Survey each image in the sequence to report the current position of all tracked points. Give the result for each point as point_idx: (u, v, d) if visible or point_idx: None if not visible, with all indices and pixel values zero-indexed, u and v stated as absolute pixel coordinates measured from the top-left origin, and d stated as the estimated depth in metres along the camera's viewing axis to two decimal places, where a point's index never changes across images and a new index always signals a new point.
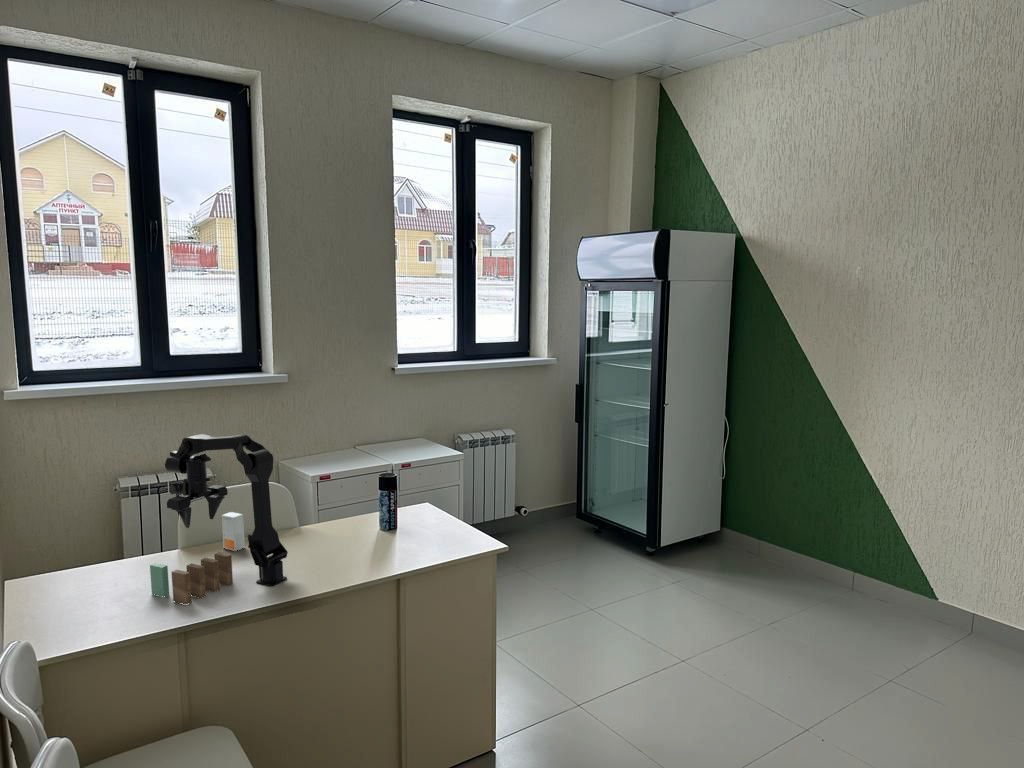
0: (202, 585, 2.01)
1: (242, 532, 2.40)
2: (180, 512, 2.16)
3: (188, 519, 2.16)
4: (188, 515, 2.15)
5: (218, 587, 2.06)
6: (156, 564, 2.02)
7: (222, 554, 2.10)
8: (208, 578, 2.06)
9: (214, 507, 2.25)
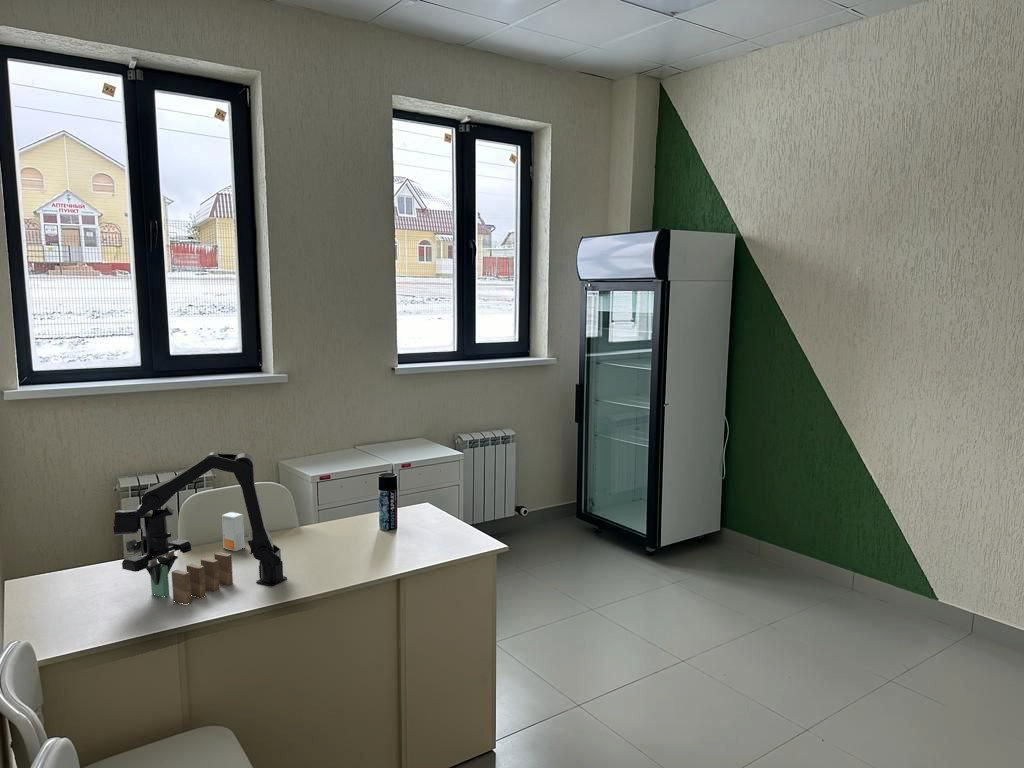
0: (202, 585, 2.01)
1: (242, 532, 2.40)
2: (148, 568, 2.00)
3: (157, 576, 2.00)
4: (157, 572, 1.99)
5: (218, 587, 2.06)
6: None
7: (222, 554, 2.10)
8: (208, 578, 2.06)
9: None
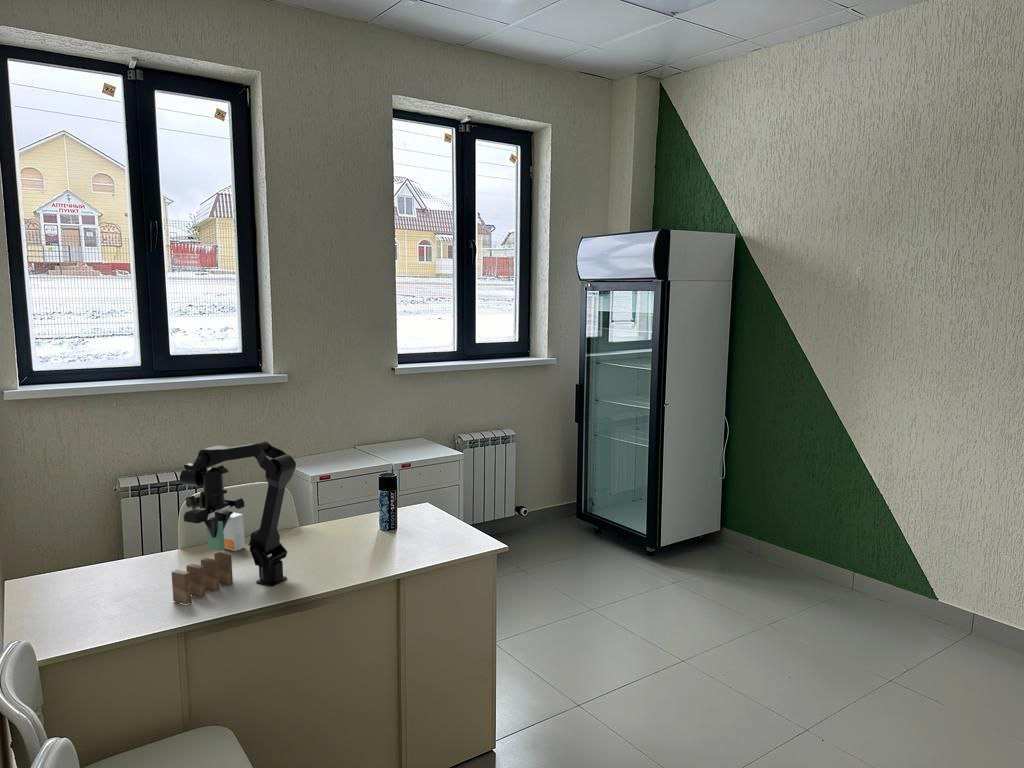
0: (202, 585, 2.01)
1: (242, 532, 2.40)
2: (207, 522, 2.15)
3: (215, 529, 2.15)
4: (215, 525, 2.14)
5: (218, 587, 2.06)
6: None
7: (222, 554, 2.10)
8: (208, 578, 2.06)
9: None
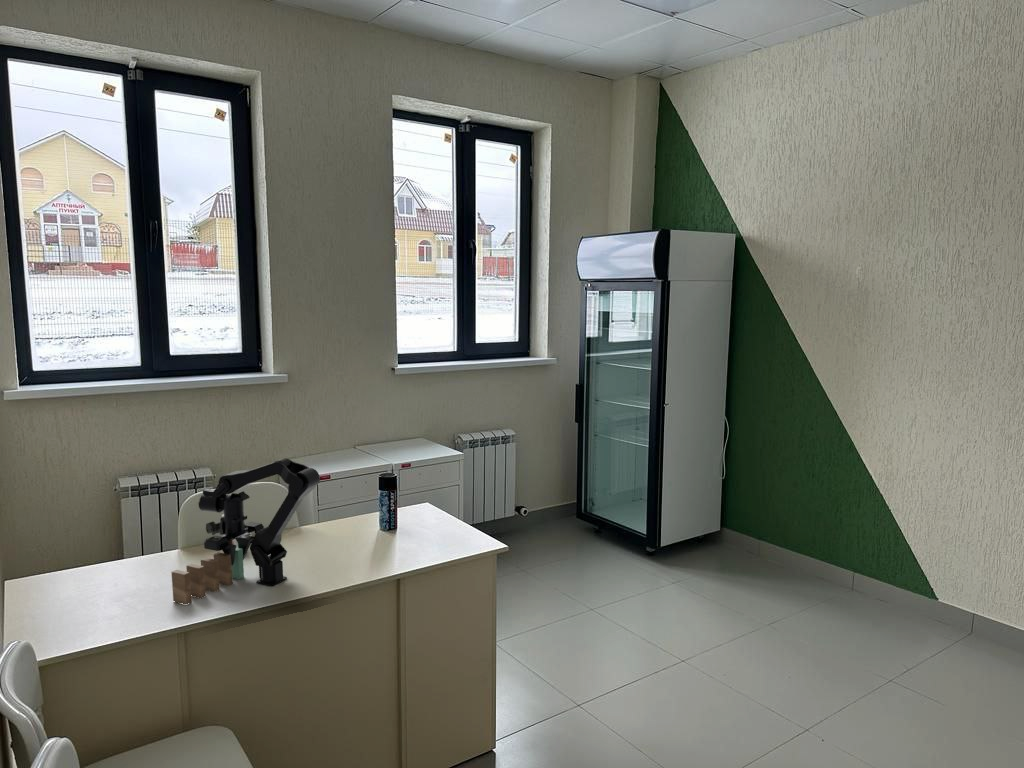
0: (202, 585, 2.01)
1: None
2: (224, 549, 2.12)
3: (232, 556, 2.12)
4: (233, 553, 2.11)
5: (218, 587, 2.06)
6: None
7: (221, 554, 2.10)
8: (208, 578, 2.06)
9: (244, 548, 2.16)
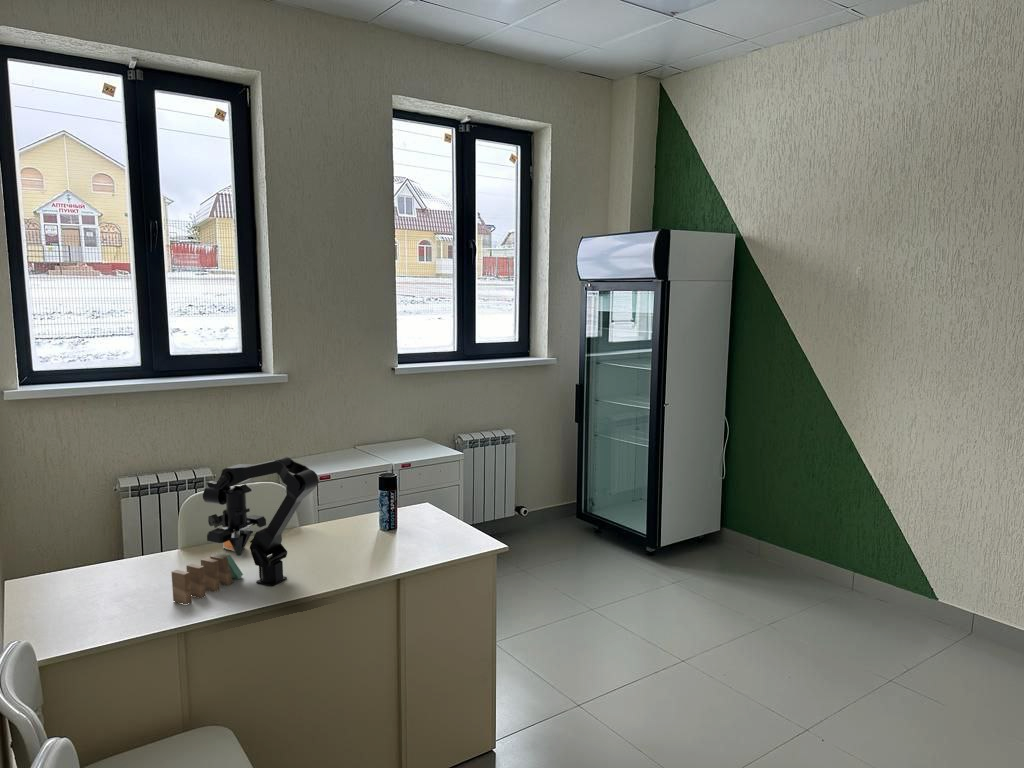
0: (202, 585, 2.01)
1: None
2: (231, 540, 2.14)
3: (240, 547, 2.14)
4: (240, 543, 2.14)
5: (218, 587, 2.06)
6: None
7: (218, 556, 2.09)
8: (208, 578, 2.06)
9: (242, 543, 2.15)
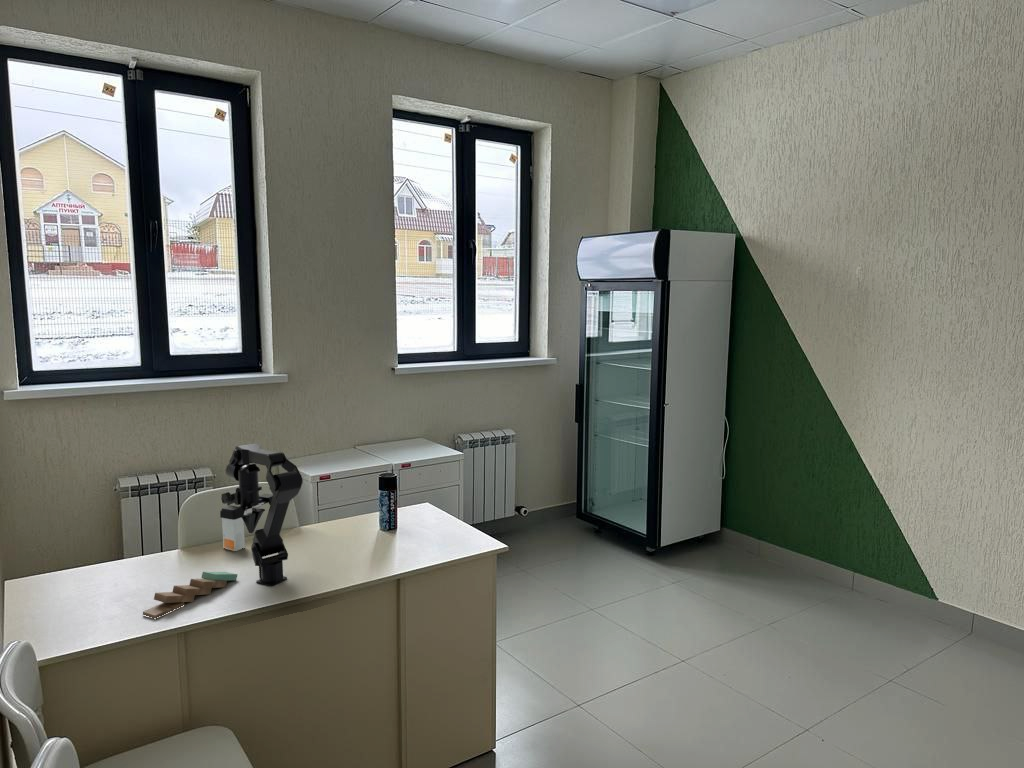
0: (183, 598, 1.96)
1: (242, 532, 2.40)
2: (244, 517, 2.18)
3: (252, 524, 2.18)
4: (252, 520, 2.18)
5: (209, 589, 2.03)
6: (205, 575, 2.07)
7: (196, 584, 2.02)
8: None
9: (254, 520, 2.20)
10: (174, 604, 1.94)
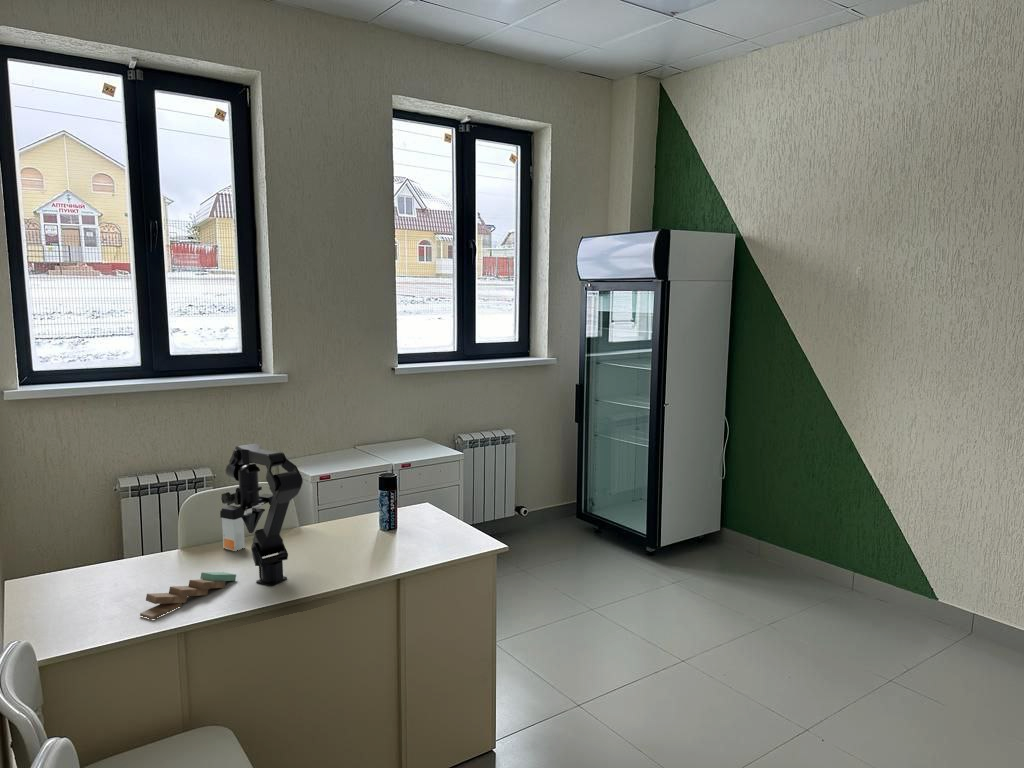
0: (175, 600, 1.94)
1: (242, 532, 2.40)
2: (244, 517, 2.18)
3: (252, 524, 2.18)
4: (252, 520, 2.18)
5: (206, 590, 2.02)
6: (204, 575, 2.07)
7: (195, 585, 2.01)
8: None
9: (254, 520, 2.20)
10: (171, 605, 1.94)
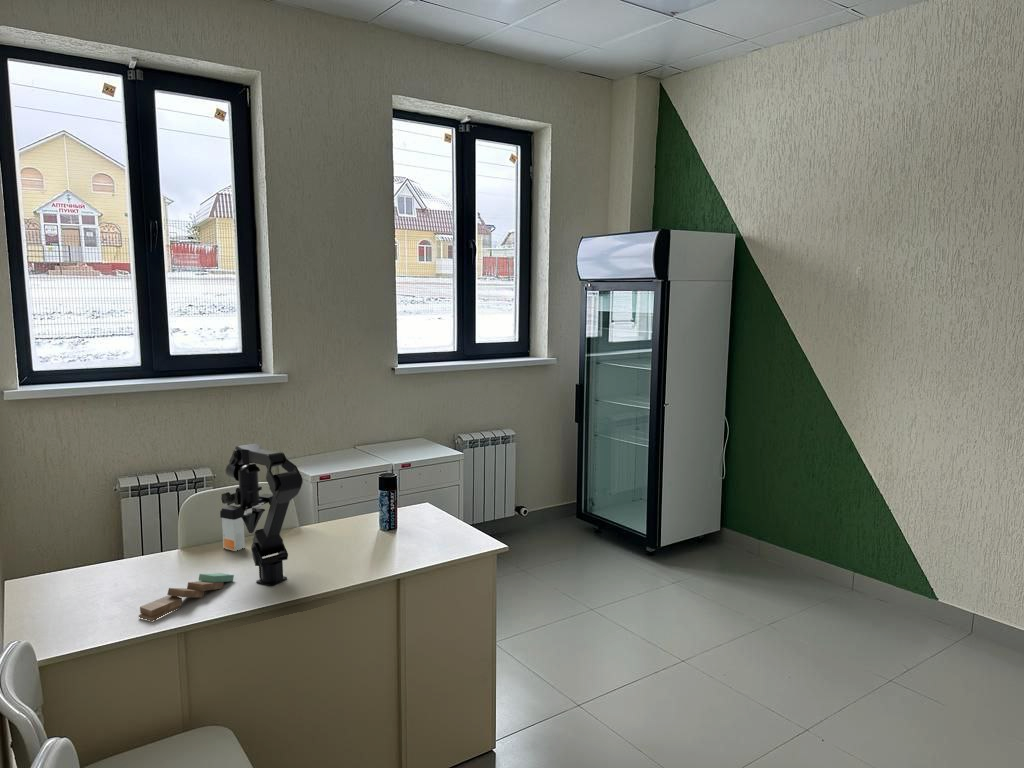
0: (170, 606, 1.91)
1: (242, 532, 2.40)
2: (244, 517, 2.18)
3: (252, 524, 2.18)
4: (252, 520, 2.18)
5: (202, 592, 2.01)
6: (203, 577, 2.06)
7: (194, 587, 2.00)
8: None
9: (254, 520, 2.20)
10: None
